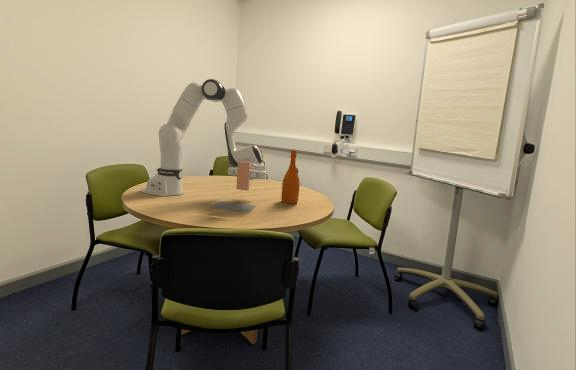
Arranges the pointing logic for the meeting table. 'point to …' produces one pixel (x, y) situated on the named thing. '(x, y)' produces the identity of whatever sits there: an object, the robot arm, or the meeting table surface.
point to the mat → (233, 206)
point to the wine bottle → (291, 182)
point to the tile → (243, 175)
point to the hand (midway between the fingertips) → (243, 175)
